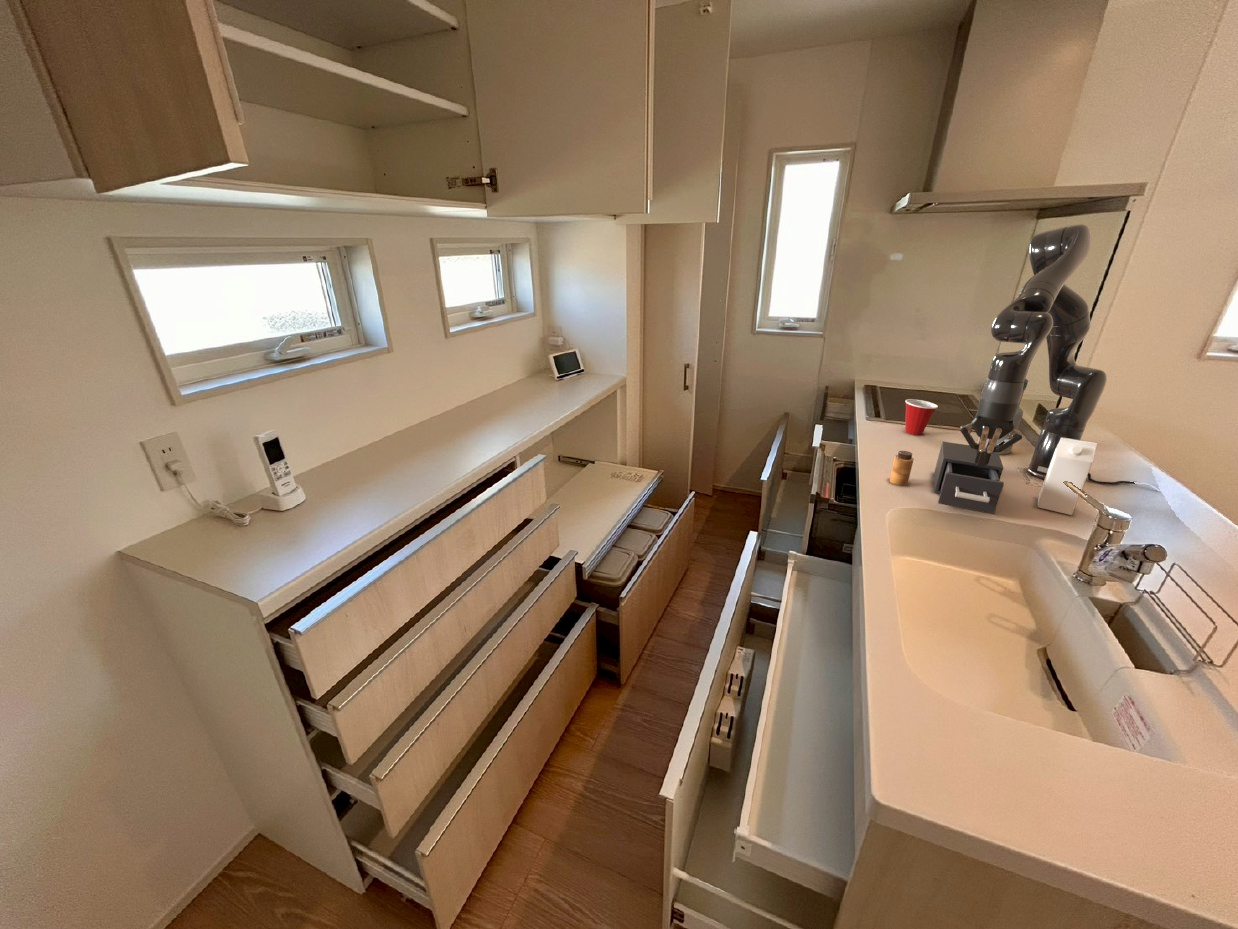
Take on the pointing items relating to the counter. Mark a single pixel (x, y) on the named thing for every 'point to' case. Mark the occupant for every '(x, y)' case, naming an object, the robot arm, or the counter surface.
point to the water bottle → (1016, 422)
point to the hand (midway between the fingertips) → (980, 465)
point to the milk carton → (1066, 475)
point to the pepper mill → (901, 468)
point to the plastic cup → (918, 415)
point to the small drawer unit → (961, 460)
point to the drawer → (970, 487)
